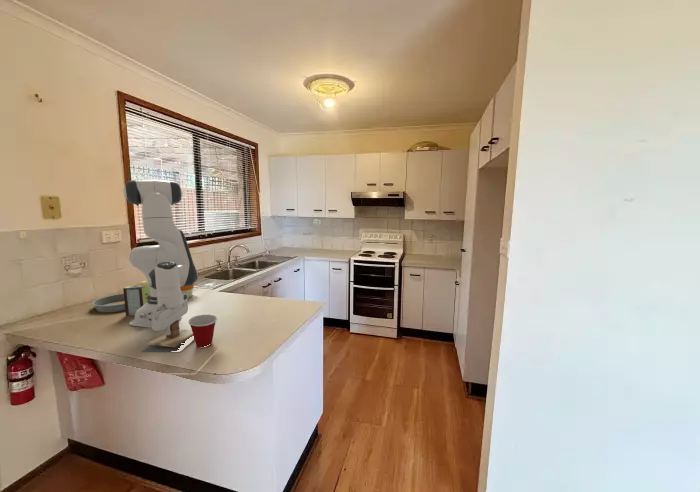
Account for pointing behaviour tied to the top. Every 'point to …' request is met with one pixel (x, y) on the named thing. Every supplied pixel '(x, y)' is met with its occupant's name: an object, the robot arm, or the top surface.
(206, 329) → the plastic cup
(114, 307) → the cake pan
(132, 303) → the protein box
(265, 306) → the top surface
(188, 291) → the reusable coffee cup
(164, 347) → the mat
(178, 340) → the lid
